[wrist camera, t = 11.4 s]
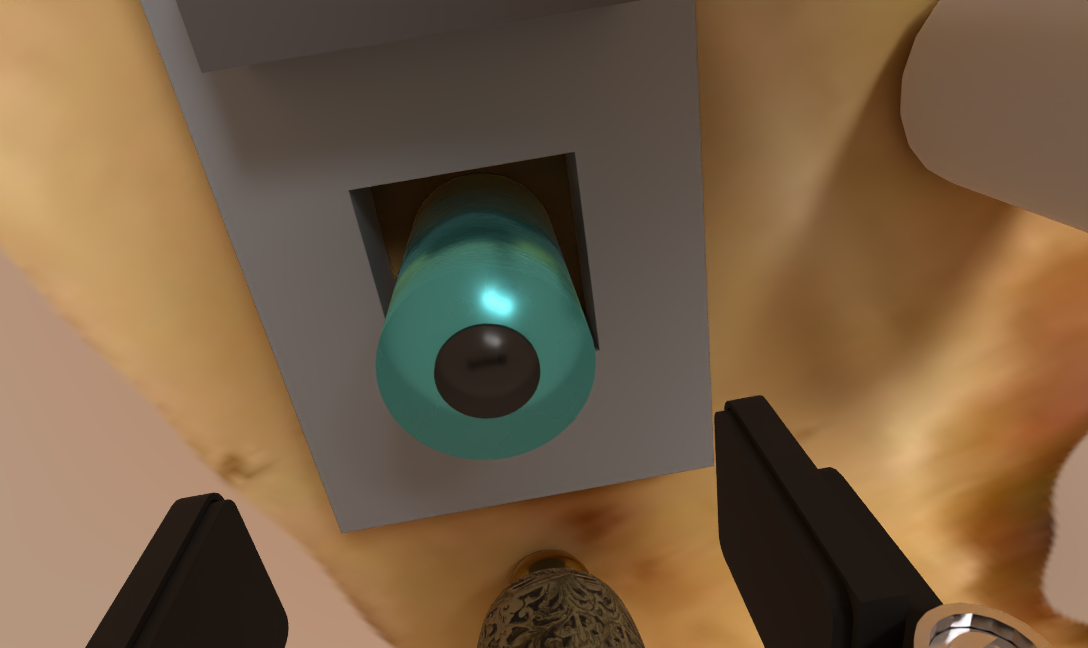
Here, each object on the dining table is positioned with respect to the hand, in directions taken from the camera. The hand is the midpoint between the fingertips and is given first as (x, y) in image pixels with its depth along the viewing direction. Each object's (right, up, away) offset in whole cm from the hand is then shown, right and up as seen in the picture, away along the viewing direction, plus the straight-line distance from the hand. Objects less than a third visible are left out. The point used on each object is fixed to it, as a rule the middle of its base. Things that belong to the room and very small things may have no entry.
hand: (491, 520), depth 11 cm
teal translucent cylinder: (-1, +6, +12) cm, 14 cm away
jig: (-2, +8, +12) cm, 14 cm away
